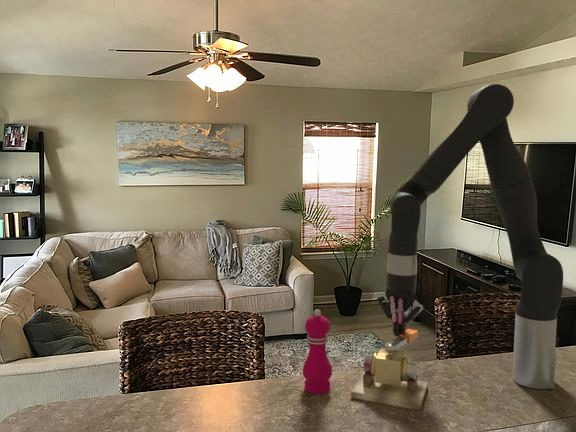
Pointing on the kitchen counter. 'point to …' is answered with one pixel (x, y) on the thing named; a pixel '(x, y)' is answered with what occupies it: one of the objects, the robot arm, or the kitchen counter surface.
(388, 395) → the board
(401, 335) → the lever
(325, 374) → the pepper mill
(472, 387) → the kitchen counter surface
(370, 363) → the ball valve
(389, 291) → the robot arm
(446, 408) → the kitchen counter surface
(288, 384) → the kitchen counter surface
